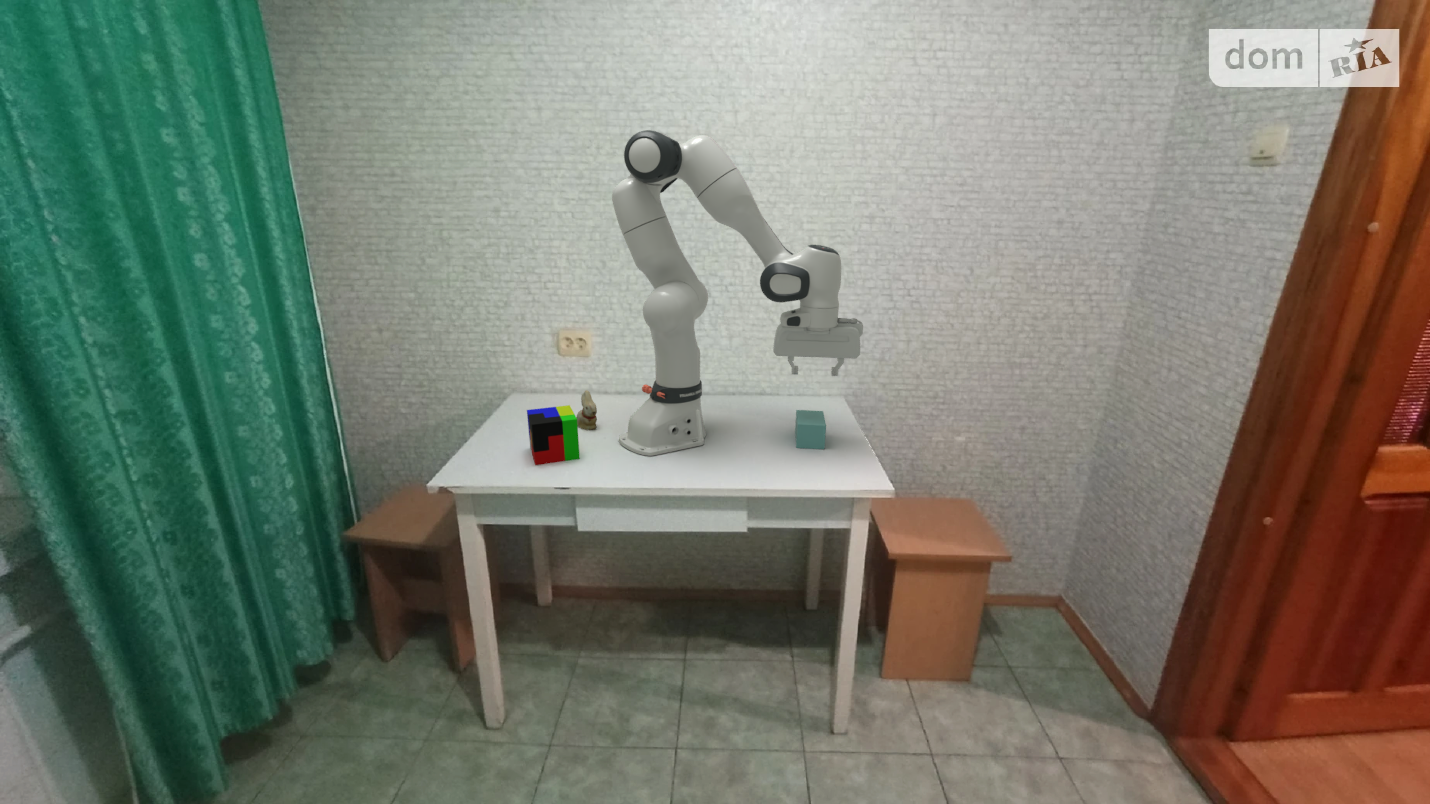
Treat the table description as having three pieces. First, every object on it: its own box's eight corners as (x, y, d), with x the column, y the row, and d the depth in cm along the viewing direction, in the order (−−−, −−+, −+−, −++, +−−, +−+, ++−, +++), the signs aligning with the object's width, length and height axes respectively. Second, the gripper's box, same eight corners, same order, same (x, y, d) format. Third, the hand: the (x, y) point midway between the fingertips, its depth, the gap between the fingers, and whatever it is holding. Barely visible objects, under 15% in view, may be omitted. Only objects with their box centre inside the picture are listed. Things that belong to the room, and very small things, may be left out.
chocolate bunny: (576, 431, 162) (573, 395, 159) (576, 421, 169) (574, 385, 166) (597, 430, 163) (595, 394, 160) (597, 419, 170) (595, 384, 167)
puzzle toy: (530, 448, 152) (526, 409, 149) (572, 443, 155) (569, 405, 152) (535, 465, 143) (531, 424, 140) (579, 459, 147) (577, 419, 143)
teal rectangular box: (824, 449, 154) (826, 425, 152) (796, 447, 154) (797, 424, 152) (821, 433, 163) (823, 411, 161) (794, 432, 164) (796, 409, 162)
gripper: (862, 315, 148) (856, 372, 153) (774, 313, 150) (772, 369, 154) (866, 321, 142) (860, 380, 147) (775, 318, 144) (772, 376, 148)
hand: (814, 374), depth 151 cm, fingers open, 8 cm apart
